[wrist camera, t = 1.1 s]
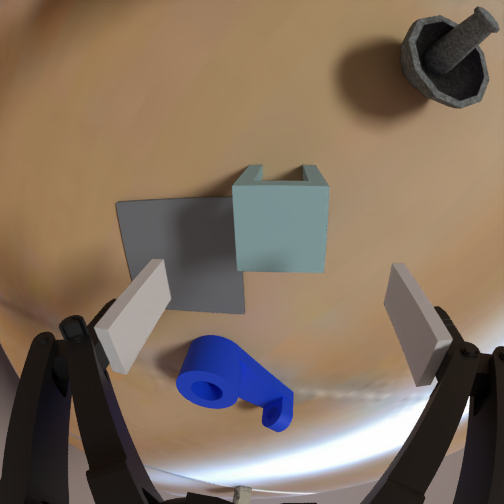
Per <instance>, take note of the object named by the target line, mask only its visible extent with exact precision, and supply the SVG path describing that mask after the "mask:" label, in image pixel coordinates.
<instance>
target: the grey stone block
mask: <svg viewBox="0 0 504 504" xmlns="http://www.w3.org/2000/svg"><path fill="white" fill-rule="evenodd" d="M251 490H252V488H249V487H244V486H239V487H236V488H235V491H234V497H233V503H235V504H249V503H250V497H251Z"/></svg>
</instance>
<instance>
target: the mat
mask: <svg viewBox="0 0 504 504" xmlns="http://www.w3.org/2000/svg"><path fill="white" fill-rule="evenodd" d="M116 207H117V213H118V218H119V224H120V229H121V234H122V239H123V243H124V248H125V252H126V257H127V261H128V265H129V269H130V274H131V278H132V281H133V280H134V279H135V278H136V277H137V275H138V274H139V273H140V272H141V271H142V270H143V269H144V268H145V266H146V265H147V264H148V263H149V262H150V261H151V260H152V259H164V264H165V269H166V275H167V280H168V285H169V290H170V295H171V300H170V302H169V303H168V305H167V306H166V308H165V309H171V310H183V311H197V312H212V313H229V314H245V301H244V284H243V271H237V259H236V244H235V228H234V212H233V196H229V197H192V198H168V199H149V200H133V201H118V202H116Z"/></svg>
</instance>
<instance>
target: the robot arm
mask: <svg viewBox="0 0 504 504" xmlns="http://www.w3.org/2000/svg"><path fill="white" fill-rule="evenodd" d="M170 300H171V295H170V290H169V285H168V280H167V275H166V269H165V264H164V259H152V260H151V261H150V262H149V263H148V264H147V265H146V266H145V268H144V269H143V270H142V271H141V272H140V273H139V274H138V275H137V277H136V278H135V279H134V280H133V281H132V282H131V283H130V285H129V286H128V287H127V288H126V289H125V290H124V292H123V293H122V294H121V295H120V296H119V297H118V299H113V300H111V301H110V302H108V303H106V304H105V306H104V307H103V308H102V309H101V311H99V313H98V314H97V315H96V316H95V317H94V319H93V320H92V321H91V322H90V323H89V325H88V326H86V323H85V321H84V319H83V317H82V316H80V315H73V316H69V317H67V318H65V319H64V320H63V321H62V322H61V323H60V325H59V329H60V331H61V333H62V336H63V338H64V340H56V339H55V337H54V335H53V334H52V333H51V332H43V333H40V334H38V335H37V336H36V337H35V338H34V339H33V341H32V344H31V346H30V349H29V352H28V355H27V358H26V361H25V364H24V368H23V371H22V374H21V378H20V381H19V385H18V388H17V392H16V396H15V400H14V404H13V408H12V413H11V417H10V422H9V427H8V432H7V438H6V444H5V451H4V459H3V467H2V477H1V480H0V504H69V489H68V437H69V420H70V408H71V397H73V403H74V408H75V413H76V418H77V422H78V427H79V431H80V435H81V439H82V443H83V447H84V450H85V454H86V457H87V460H88V464H89V470H88V471H86V476H87V481H88V484H89V487H90V490H91V492H92V495H93V498H94V501H95V503H96V504H235V503H232V502H229V501H226V500H224V499H221V498H218V497H212V496H206V495H201V494H195V493H190V492H187V496H186V497H184V498H175V499H170V500H166V501H164V500H163V499H162V497H161V496H160V494H159V493H158V492H157V490H156V489H155V487H154V486H153V484H152V482H151V480H150V478H149V476H148V474H147V472H146V470H145V468H144V466H143V464H142V461H141V459H140V457H139V455H138V453H137V450H136V448H135V446H134V443H133V441H132V439H131V436H130V434H129V431H128V429H127V426H126V424H125V421H124V419H123V416H122V413H121V410H120V408H119V405H118V402H117V399H116V396H115V393H114V390H113V387H112V384H111V381H110V378H109V374H108V372H107V370H106V368H107V366H108V365H109V363H110V366H111V368H112V370H113V372H117V373H121V374H126V375H127V373H128V371H129V370H130V368H131V366H132V364H133V363H134V361H135V359H136V357H137V356H138V354H139V352H140V350H141V349H142V347H143V345H144V343H145V342H146V340H147V338H148V337H149V335H150V333H151V332H152V330H153V328H154V326H155V325H156V323H157V321H158V320H159V318H160V316H161V315H162V313H163V311H164V310H165V308H166V306H167V305H168V303H169V302H170ZM384 306H385V308H386V310H387V313H388V315H389V317H390V320H391V322H392V324H393V327H394V329H395V332H396V334H397V337H398V339H399V341H400V344H401V347H402V349H403V352H404V354H405V357H406V359H407V362H408V365H409V367H410V370H411V373H412V376H413V379H414V381H415V384H416V387H418V386H425V385H431V383H432V381H433V379H434V377H435V376H436V378H437V381H438V383H437V385H436V386H435V388H434V390H433V392H432V393H431V395H430V399H429V401H428V403H427V405H426V406H425V408H424V410H423V412H422V414H421V416H420V418H419V419H418V421H417V423H416V425H415V426H414V428H413V430H412V432H411V433H410V435H409V437H408V438H407V440H406V441H405V443H404V445H403V446H402V448H401V449H400V451H399V452H398V454H397V456H396V457H395V458H394V460H393V461H392V463H391V464H390V466H389V467H388V469H387V470H386V471H385V473H384V474H383V476H382V477H381V478H380V480H379V481H378V482H377V484H376V485H375V486H374V487H373V489H372V490H371V491H370V493H369V494H368V495H367V496H366V497H365V499H364V500H363V501H362V502H361V503H360V504H423V503H424V500H425V496H424V494H425V492H426V490H427V488H428V486H429V485H430V483H431V481H432V479H433V478H434V476H435V474H436V472H437V470H438V468H439V466H440V464H441V462H442V460H443V458H444V456H445V454H446V452H447V450H448V448H449V446H450V443H451V441H452V439H453V437H454V434H455V432H456V430H457V427H458V425H459V422H460V420H461V417H462V414H463V412H464V409H465V406H466V403H467V401H468V398H469V396H470V405H469V418H468V428H467V436H466V444H465V450H464V457H463V463H462V468H461V472H460V477H459V481H458V486H457V490H456V494H455V498H454V501H453V504H504V346H499V347H496V348H495V350H494V351H493V353H492V354H483V353H480V351H479V349H478V348H477V347H476V346H475V345H474V344H472V343H469V342H465V341H464V340H463V338H462V337H461V335H460V333H459V332H458V330H457V328H456V327H455V325H454V324H453V322H452V320H450V317H449V316H448V314H447V313H446V312H445V311H444V310H443V309H442V308H440V307H439V306H437V307H433V306H432V304H431V302H430V301H429V299H428V298H427V296H426V295H425V293H424V292H423V290H422V289H421V287H420V286H419V284H418V283H417V281H416V280H415V278H414V277H413V275H412V274H411V273H410V271H409V270H408V268H407V267H406V266H405V264H404V263H392V267H391V272H390V277H389V282H388V287H387V291H386V296H385V300H384ZM282 504H317V503H282Z"/></svg>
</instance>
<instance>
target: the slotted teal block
mask: <svg viewBox="0 0 504 504" xmlns="http://www.w3.org/2000/svg"><path fill="white" fill-rule="evenodd" d="M262 178H263V166H262V165H249V166H248V167H247V169H246V170H245V171H244V172H243V173H242V175H241V176H240V177H239V178H238V179H237V180H236V182H235V183H234V184H233V185H232V195H233V212H234V228H235V244H236V259H237V271H253V272H303V273H324V266H325V254H326V241H327V226H328V207H329V185H328V183H327V182H326V180H325V179H324V177H323V176H322V174H321V173H320V171H319V170H318V168H317V167H316V165H303V180H304V181H261V180H262Z"/></svg>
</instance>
